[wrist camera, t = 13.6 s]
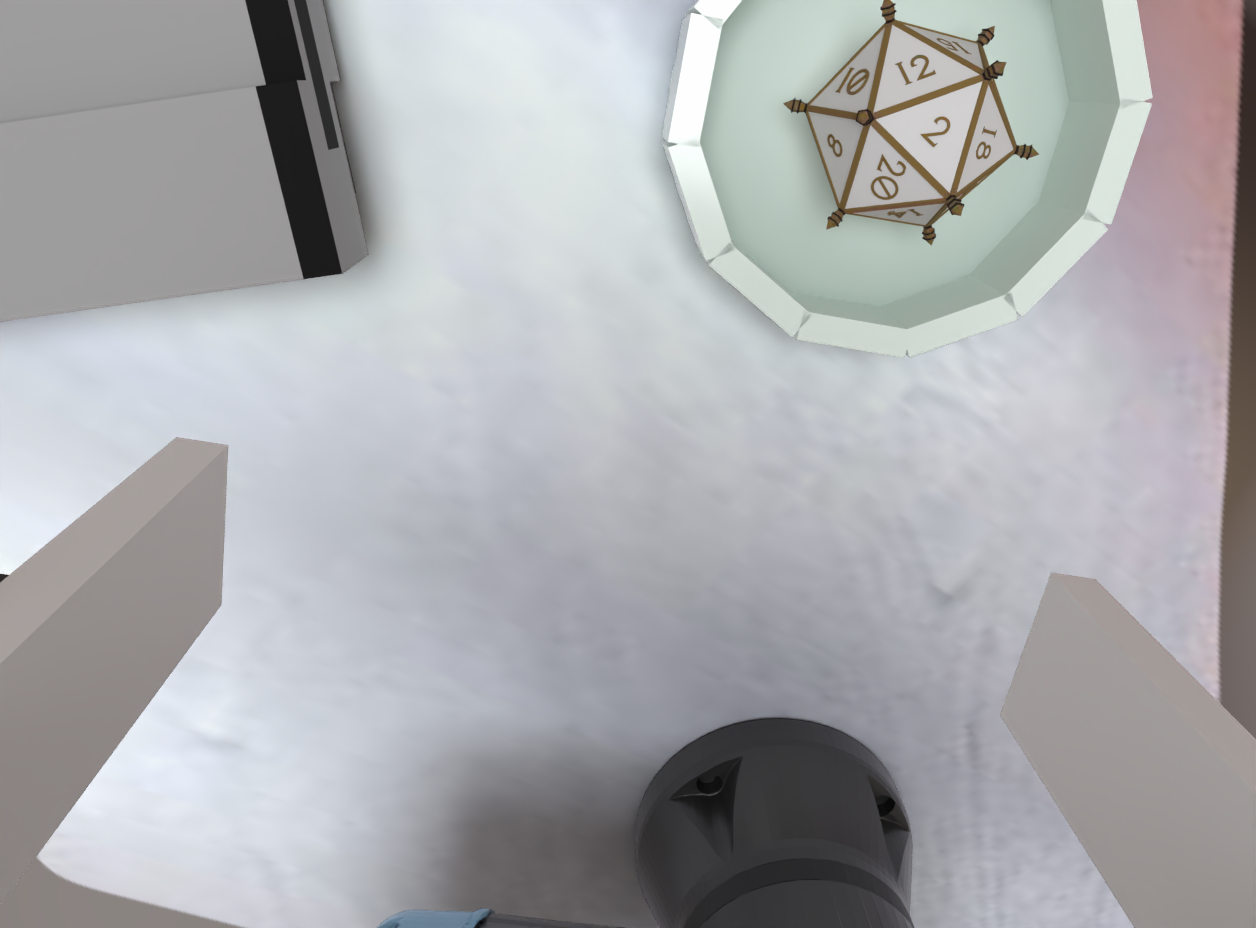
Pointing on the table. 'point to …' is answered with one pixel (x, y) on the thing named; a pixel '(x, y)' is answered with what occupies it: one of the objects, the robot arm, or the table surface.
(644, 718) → the table surface
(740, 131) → the bowl
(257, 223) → the game console
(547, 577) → the table surface
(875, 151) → the game die
